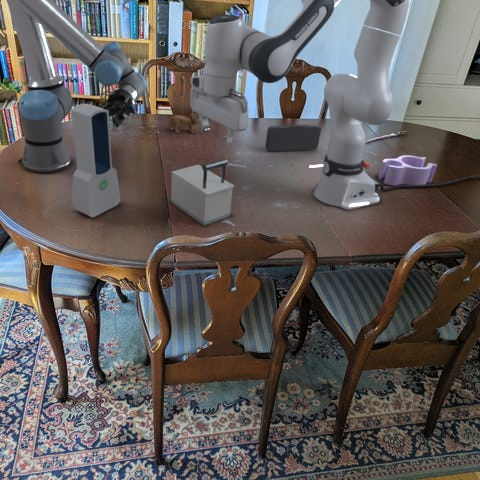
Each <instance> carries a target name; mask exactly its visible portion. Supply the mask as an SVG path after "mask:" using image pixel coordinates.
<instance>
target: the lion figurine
mask: <svg viewBox="0 0 480 480" xmlns="http://www.w3.org/2000/svg"><path fill="white" fill-rule="evenodd" d="M199 122H201V120H200V114H198V113H196V112H194V111H192V112H191V113H189V114H188V115H186V116H181V115H179V114H178V115H177V114H176V115H173V116H172V117H171V118H170V121H169V125H168V128H166V131H169V130H170V131H173V130H175V132H176V133H177V134H179V133H180V130H178V127H179V124H180V125H182V126H188V127H187V128H188V131H190V133H191V134H194V133H195V131H194V130H193V129H194V126H196V125H198V123H199ZM173 126H174V128H173Z"/></svg>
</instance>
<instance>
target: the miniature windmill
mask: <svg viewBox="0 0 480 480" xmlns="http://www.w3.org/2000/svg"><path fill="white" fill-rule="evenodd" d="M110 87H111V89H110ZM111 90H112V91H111ZM114 90H115V88H114V85H112V86H105V85H102V84H101V91H100V93H99V95H100V99H99V104H98V107H100V108H102V107H104V106H105V105H106V104H107V96H108V97H109V95H110V94H111V93H112V92H113V91H114ZM107 93H108V94H107ZM103 96H104V97H103ZM102 100H104V102H102ZM115 115H116V114H115ZM115 115H114V116H115ZM114 116H111V119H110V118H109V122H112V129H113V130H116V126H115V124H114V122H113V121H112V119H113V117H114ZM123 122H124V121H123ZM123 122H122V123H121V125H122V124H124V123H123Z"/></svg>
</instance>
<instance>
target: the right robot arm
mask: <svg viewBox="0 0 480 480" xmlns="http://www.w3.org/2000/svg"><path fill="white" fill-rule="evenodd" d="M300 1H301V3H302V5H303V6H302V9H301V11H300V12H299V13H298V15H297V16H295V18H294V19H293V20H292V21H291V22H290V23H289V24H288V26H287V27H286V28H285V29H284V30H283V31H282V32H281V33H279V34H277V35H273V36H270V35H268V34H266V33H264V32H262V31H260V30H257V29H256V28H253V27H251V26H250V25H249V24H247V23H245V22H244V21H243V19H241V18H240V16H239V15H236V14H227V13H226V14H219V15H216V16H214V17H212V18H210V20H209V21H208V23H207V27H206V31H205V33H206V34H205V38H204V39H205V41H204V54H203V55H204V58H205V64H204V67H203V74H201V75H200V74H199V75H195V76H191V77H190V85H191V88H190V92H189V93H190V94H189V107H190V109H191V111H192V112H193V111H194V112H196V113H198V114H200V124H201V131H203V132H204V133H209V132H211V124H209V120H211V121H213V122H215V123H217V124H220V125H221V126H224V127H226V131H227V134H226V135H223V142H224V143H226V144H232V143H233V140H234V136H235V135H236V133H238V132H239V133H240V132H243V131H246V130H247V129H248V127H249V116H250V115H249V102H248V99H247V98H246V96H245V94H244V93H242V92H238V86H239V85H238V84H239V73H240V72H241V70H245V71H247V72H249V73H251V74H252V75H253V76H254V77H256V78H257V79H258V80H259V81H261V82H263V83H265V84H274V83H277V82H279V81H281V80H282V79H284V78H285V77H286V76H287V74H288V73H289V72H290V70H291V68H292V66H293V64H294V63H295V61H296V59H297V57H299V55H300V54H301V52H302V51H303V50H304V49H305V48H306V46H307V45H309V44H310V42H311V41H312V39H314V38H315V36H316V35H317V34H318V33H319V32H320V31H321V30H322V28H323V27H324V26H325V25H326V23H327V22H328V21H329V20H330V18H331V17H332V15H333V13H334V11H335V8H336V6H338V4H339V3H340V2H341V1H342V0H300ZM369 2H370V4H369V5H370V7H369V10H368V12H367V14H366V17H365V19H364V22H363V24H362V28H361V30H360V33H359V36H358V38H357V43H356V44H355V47H354V51H353V56H354V57H353V58H354V60H355V63H356V66H357V75H353V74H351V73H335V74H333V75H332V76H331V77H329V78H328V79H327V81H326V83H325V85H324V88H323V97H324V99H325V101H326V103H327V106H328V111H329V119H330V135H329V141H328V147H327V152H326V154H325V155H324V160H323V163H322V164H314V165H313V164H312V165H309V167H308V168H321V167H322V172H321V175H320V178H319V181H318V184H317V185H316V188H315V189H314V191H313V195H314V197H315V198H316V199H317V200H319V201H320V202H321V203H324V204H325V205H326V204H327V205H330V206H334V207H338V208H341V209H343V210H347V211H350V210H355V209H359V208H362V207H367V206H371V205H376V204H378V203H380V201H381V198H380V195H378V193H377V192H378V189H379V187H380V191H381V192H389V191H392V190H394V189H402V188H403V189H404V188H405V189H415V188H416V189H417V188H433V187H441V186H447V185H451V184H455V183H459V182H462V181H465V180H471V179H473V178H466V177H467V176H466V177H462V178H457V179H454V180H451V181H445V182H439V183H430V184H429V183H428V184H425V185H405V184H399V185H391V186H390V187H387V188H384V184H382V183H379V182H377V181H376V180H375V179H374V178H372V177H370V175H369V174H368V173H367V172H366V171H364V169H365V170H369V169H370V168H371V167H372V166H371V165H372V164H371V163H369V162H368V161H364V159H362V157H363V154H364V150H365V146H366V141H367V136H366V133H365V131H364V129H363V126H362V124H366V125H371V126H379V125H382V124H383V123H385V122H386V121H387V120H388V119H389V118H390V117H391V115H392V113H393V110H394V106H395V105H394V102H395V101H394V98H393V95H392V93H391V89H390V74H391V67H392V62H393V59H394V56H395V54H396V50H397V47H398V45H399V43H400V40H401V37H402V34H403V32H404V29H405V26H406V23H407V19H408V15H409V11H410V5H411V0H369ZM469 177H480V175H476V174H475V175H470V176H469ZM463 178H464V179H463ZM460 179H461V180H460ZM477 179H478V180H479V181H480V178H477Z"/></svg>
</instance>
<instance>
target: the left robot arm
mask: <svg viewBox="0 0 480 480" xmlns="http://www.w3.org/2000/svg"><path fill="white" fill-rule="evenodd" d="M6 4H7V7H8V10H9V13H10V16H11V19H12V23H13V26H14V29H15V33H16V36H17V39H18V42H19V47H20V48H21V52H22V56H23V58H24V61H25V64H26V65H25V66H26V68H27V71H28V75H29V78H30V79H29V81H28V83H27V88H28V91H26V92H24V93H22V95H20V97H19V98H18V111H19V114H20V119H21V126H22V132H23V137H24V148H23V153H22V157H20V159H18V161H17V163H18V164H20V163H22V166H23V168H24V169H25V170H27V171H29V172H33V173H39V174H46V173H56V172H61V171H63V170H66V169H67V168H69V167H70V166H71V163H72V159H71V155H70V153H69V151H68V150H67V149H68V148H67V147H66V144H65V143H64V140H63V132H62V122H63V121H64V120H65V118H66V117H67V116H68V115H69V114H70V113H71V110H72V108H73V107H72V106H73V96H72V94H71V91H70V90H69V89H68V87H66V85H65V81H64V78H63V77H61V76H60V75H58V73H57V69H56V66H55V62H54V58H53V54H52V51H51V48H50V44H49V41H48V37H47V33H46V31H47V32H48V33H49V34H50V35H51V36H52V37H54V38H55V40H57V41H58V42H59V43H60V44H61V45H63V47H65V48H66V49H67V50H68V51H69V52H71V54H73V55H74V56H75V57H76V58H77V59H78V60H79V61H81V62H82V63H83V64H84V65H85V66H86V67H87V68H88V69H90V70H91V71H92V73H94V76H95V79H96V81H97V82H98V83H99V84H101V86H102V85H104V86H107V87H108V86H109V87H111V86H112V85H113V86H114V85H117V87H115V88H114V91H111V92H112V93H110V95H109V94H108V95H109V96H108V97H107V98H106V101H107V102H106V105H105V104H104V105H105V106H101V108H102V109H105V110H108V111H109V118H111V120H112V121H113V122H114V124H115V129H116V128H119V127H120V126H121V125H122V124H121V123H122V122H124V121H125V120H126V119H127V117H130V116H131V114H132V115H135V114H136V113H137V110H136V105H137V104H136V103H137V102H138V100H139V99H140V98H141V97H142V96H143V95H144V94H145V91H146V90H147V87H148V82H147V79H146V77H145V76H144V75H142V73H140V72H137V71H135V69H134V68H133V66H132V64H131V63H130V61H129V59H128V57H127V55H126V53H125V52H124V50H123V48H122V47H121V45H119V42H118V41H116V40H112V41H110V42H107V43H106V44H104V45H103V46H102V45H101V44H100V43H99V42H97V40H95V39H94V38H93V36H91V35H90V34H89V33H88V32H87V31H86V30H85V29H84V28H83V27H82V26H81V25H80V24H78V23H77V22H76V21H75V20H74V19H73V18H72V17H71V16H70V15H69V14H68V13H67V12H66V11H65V10H63V9H62V7H60V5H58V4H57V3H56V2H55V1H54V0H6ZM98 107H99V106H98ZM99 108H100V107H99ZM115 114H116V115H115ZM112 116H113V119H112ZM112 121H111V122H112ZM113 122H112V123H113Z"/></svg>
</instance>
